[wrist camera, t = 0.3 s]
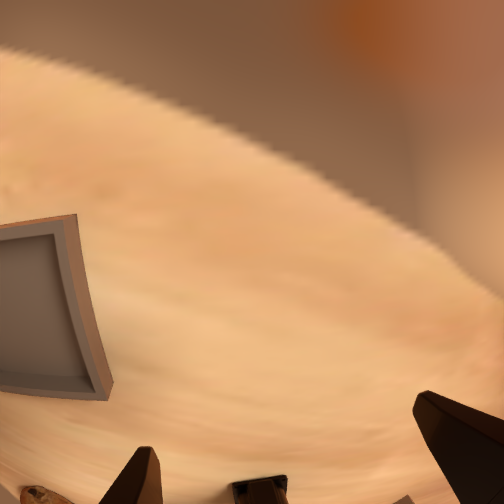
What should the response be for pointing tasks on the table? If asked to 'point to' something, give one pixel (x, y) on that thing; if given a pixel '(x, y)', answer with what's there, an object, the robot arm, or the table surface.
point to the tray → (48, 314)
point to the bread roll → (41, 496)
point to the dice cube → (405, 500)
